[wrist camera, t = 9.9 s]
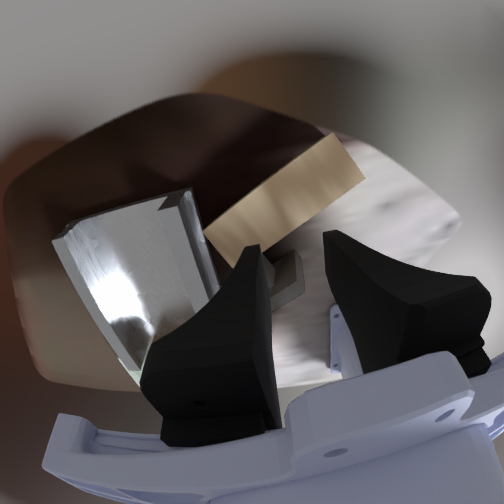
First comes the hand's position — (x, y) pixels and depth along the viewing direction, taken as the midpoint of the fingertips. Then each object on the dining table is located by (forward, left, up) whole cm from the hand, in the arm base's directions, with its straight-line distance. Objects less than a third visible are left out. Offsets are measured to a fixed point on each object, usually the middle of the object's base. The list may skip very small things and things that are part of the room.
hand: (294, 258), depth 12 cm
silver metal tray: (-5, +10, -7) cm, 13 cm away
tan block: (-3, +3, -5) cm, 7 cm away
